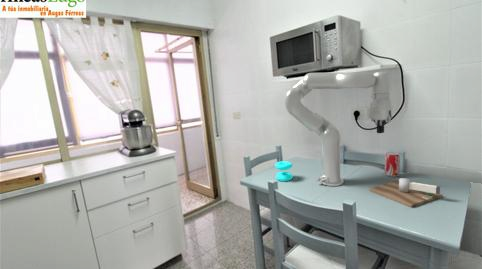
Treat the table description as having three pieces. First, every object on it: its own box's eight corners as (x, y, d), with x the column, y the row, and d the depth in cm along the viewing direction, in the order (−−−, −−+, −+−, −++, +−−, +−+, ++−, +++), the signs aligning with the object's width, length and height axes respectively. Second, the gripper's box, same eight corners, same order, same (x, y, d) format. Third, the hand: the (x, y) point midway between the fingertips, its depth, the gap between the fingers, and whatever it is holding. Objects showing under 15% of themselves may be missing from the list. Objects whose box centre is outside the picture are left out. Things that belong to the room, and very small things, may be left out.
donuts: (272, 162, 149) (287, 159, 152) (273, 177, 150) (287, 175, 153) (279, 166, 139) (295, 163, 142) (280, 183, 141) (295, 179, 144)
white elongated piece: (398, 190, 114) (398, 180, 113) (399, 188, 117) (400, 177, 116) (439, 198, 104) (439, 186, 103) (439, 194, 107) (440, 183, 106)
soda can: (381, 174, 141) (382, 152, 139) (393, 172, 142) (394, 151, 139) (390, 178, 134) (390, 155, 132) (402, 176, 135) (403, 154, 132)
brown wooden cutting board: (411, 207, 101) (411, 204, 101) (369, 190, 121) (369, 187, 121) (444, 196, 108) (444, 193, 108) (398, 182, 128) (399, 179, 128)
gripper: (362, 97, 127) (363, 132, 131) (388, 97, 114) (388, 135, 117) (373, 96, 130) (373, 130, 133) (400, 96, 116) (399, 133, 119)
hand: (380, 132), depth 125 cm, fingers closed
